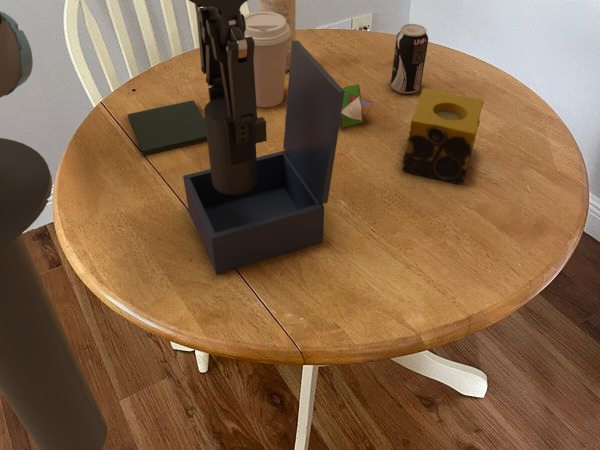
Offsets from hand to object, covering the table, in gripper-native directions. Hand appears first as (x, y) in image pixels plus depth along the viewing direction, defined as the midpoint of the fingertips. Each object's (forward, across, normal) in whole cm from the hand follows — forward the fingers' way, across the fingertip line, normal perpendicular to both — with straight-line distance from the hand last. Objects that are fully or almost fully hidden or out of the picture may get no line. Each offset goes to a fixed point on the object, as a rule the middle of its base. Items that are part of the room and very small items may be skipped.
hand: (232, 145), depth 74 cm
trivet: (+15, +29, +3) cm, 32 cm away
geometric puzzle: (+15, +19, -27) cm, 36 cm away
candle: (+15, +3, -35) cm, 38 cm away
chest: (+15, 0, -2) cm, 15 cm away
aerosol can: (+15, +43, -23) cm, 51 cm away
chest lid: (-1, 0, -10) cm, 10 cm away
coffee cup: (+15, +32, -16) cm, 39 cm away
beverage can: (+15, +25, -42) cm, 51 cm away
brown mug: (+6, 0, 0) cm, 6 cm away
